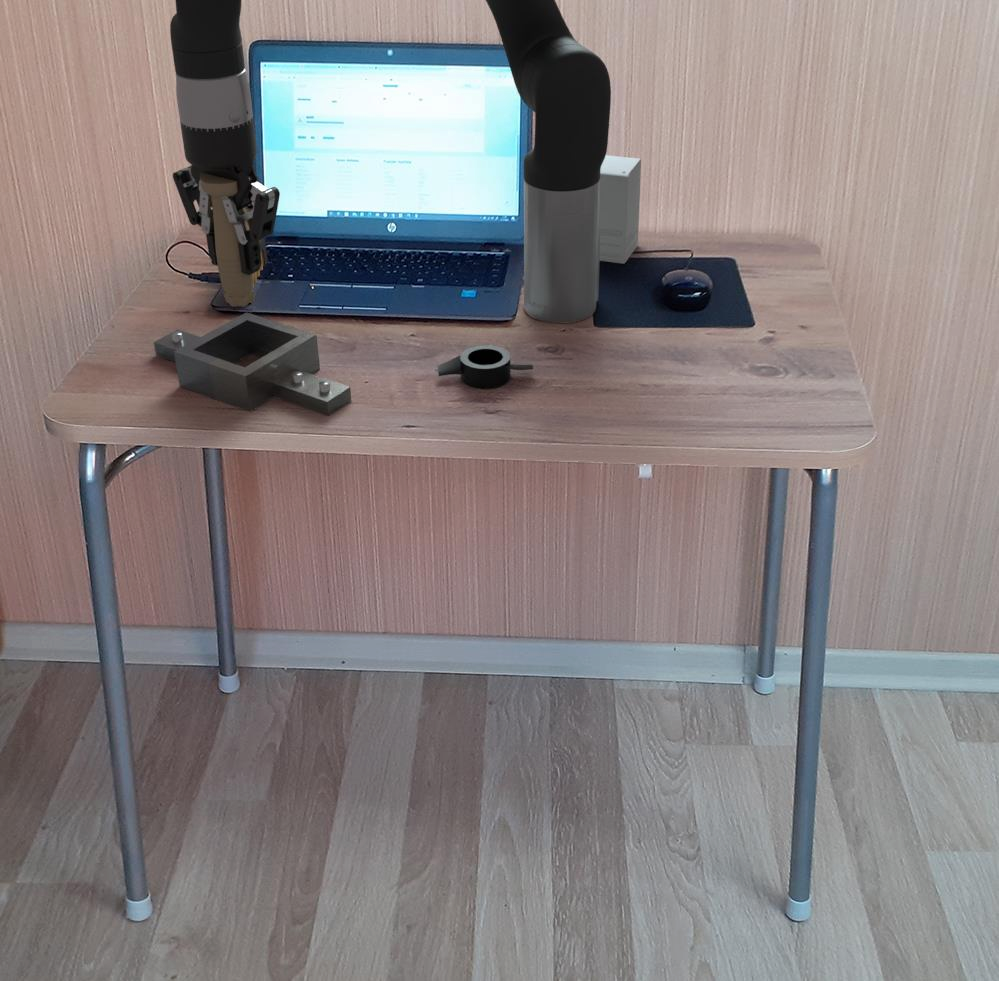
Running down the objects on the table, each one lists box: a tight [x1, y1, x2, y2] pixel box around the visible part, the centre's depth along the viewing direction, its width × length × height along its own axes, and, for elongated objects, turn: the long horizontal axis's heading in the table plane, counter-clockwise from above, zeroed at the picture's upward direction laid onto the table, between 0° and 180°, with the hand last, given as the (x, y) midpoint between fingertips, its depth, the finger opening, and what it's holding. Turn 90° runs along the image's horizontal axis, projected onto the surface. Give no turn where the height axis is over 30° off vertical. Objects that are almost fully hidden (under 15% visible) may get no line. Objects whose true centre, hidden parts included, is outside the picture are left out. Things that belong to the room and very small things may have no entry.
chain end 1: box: [153, 312, 281, 400], centre depth 154 cm, size 14×12×4 cm
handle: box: [200, 172, 255, 308], centre depth 143 cm, size 5×6×15 cm
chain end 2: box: [209, 322, 352, 417], centre depth 148 cm, size 14×12×4 cm
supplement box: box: [598, 154, 642, 265], centre depth 178 cm, size 7×7×13 cm
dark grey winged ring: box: [437, 344, 534, 390], centre depth 151 cm, size 8×10×3 cm
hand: (235, 266), depth 145 cm, fingers closed on handle, 4 cm apart
